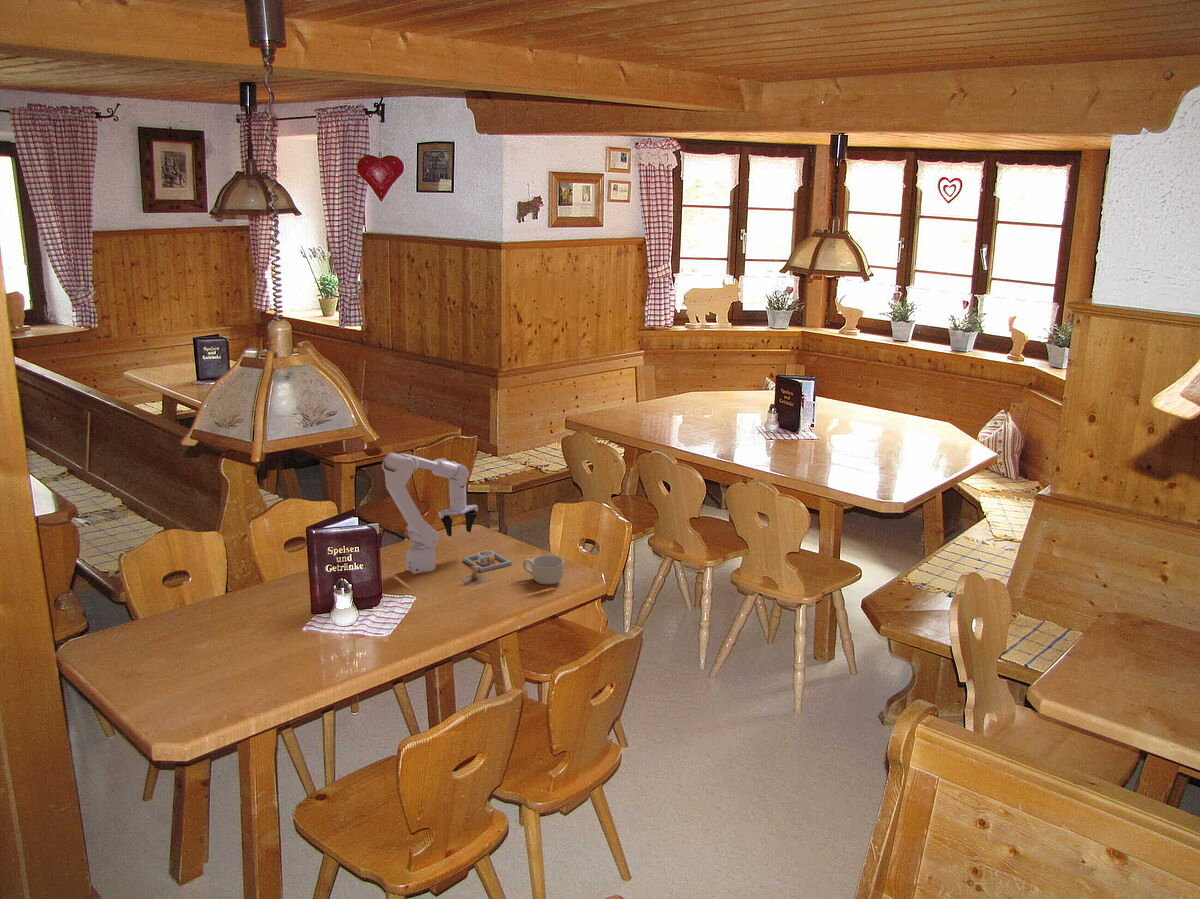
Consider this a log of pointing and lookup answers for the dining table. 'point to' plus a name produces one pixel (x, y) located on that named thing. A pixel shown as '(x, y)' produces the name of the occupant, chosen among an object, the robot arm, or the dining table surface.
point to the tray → (487, 568)
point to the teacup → (545, 569)
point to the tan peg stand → (474, 577)
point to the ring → (486, 558)
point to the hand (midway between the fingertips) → (459, 533)
